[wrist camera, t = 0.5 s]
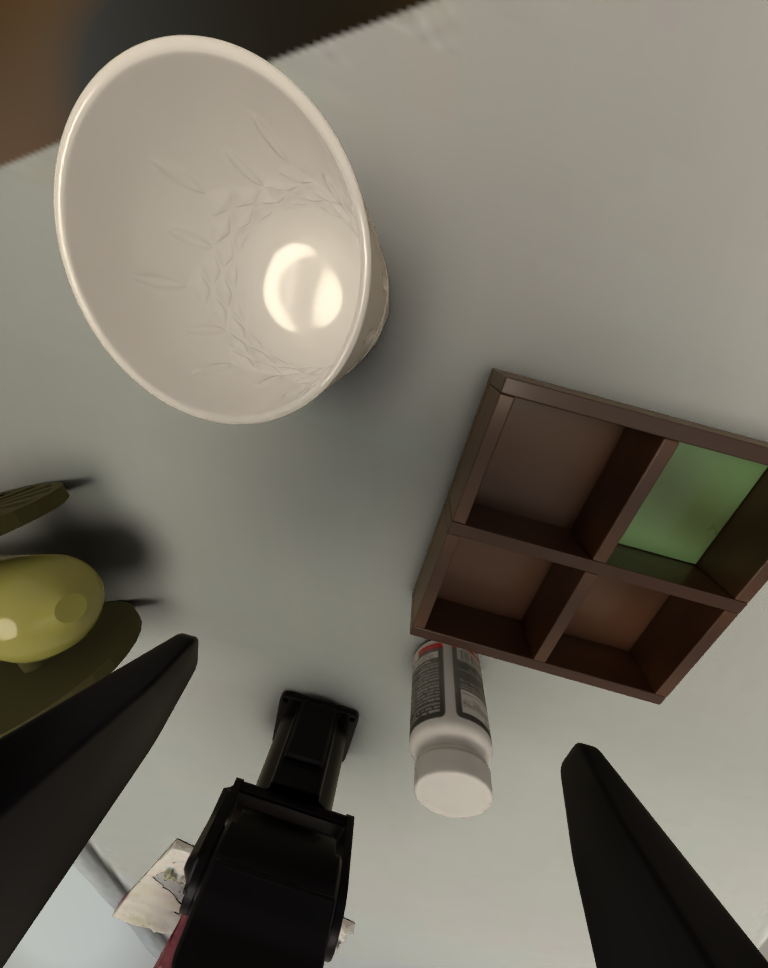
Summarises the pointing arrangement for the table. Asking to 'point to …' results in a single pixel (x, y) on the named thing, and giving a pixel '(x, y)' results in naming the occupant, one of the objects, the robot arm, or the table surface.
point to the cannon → (52, 618)
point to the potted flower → (169, 903)
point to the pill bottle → (450, 732)
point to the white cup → (216, 231)
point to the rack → (594, 538)
